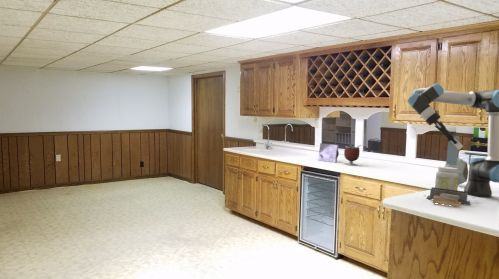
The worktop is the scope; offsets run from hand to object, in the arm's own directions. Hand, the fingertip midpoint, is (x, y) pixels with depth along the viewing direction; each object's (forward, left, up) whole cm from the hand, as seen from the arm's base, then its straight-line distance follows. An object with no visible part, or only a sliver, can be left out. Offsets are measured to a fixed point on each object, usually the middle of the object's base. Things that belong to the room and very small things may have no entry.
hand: (460, 148), depth 210 cm
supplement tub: (-4, -19, -30) cm, 36 cm away
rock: (-32, -63, -30) cm, 77 cm away
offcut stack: (+9, +8, -30) cm, 33 cm away
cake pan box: (+38, -169, -30) cm, 176 cm away
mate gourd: (+19, -151, -30) cm, 155 cm away
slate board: (+3, -2, -10) cm, 10 cm away
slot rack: (+3, -2, -30) cm, 30 cm away
